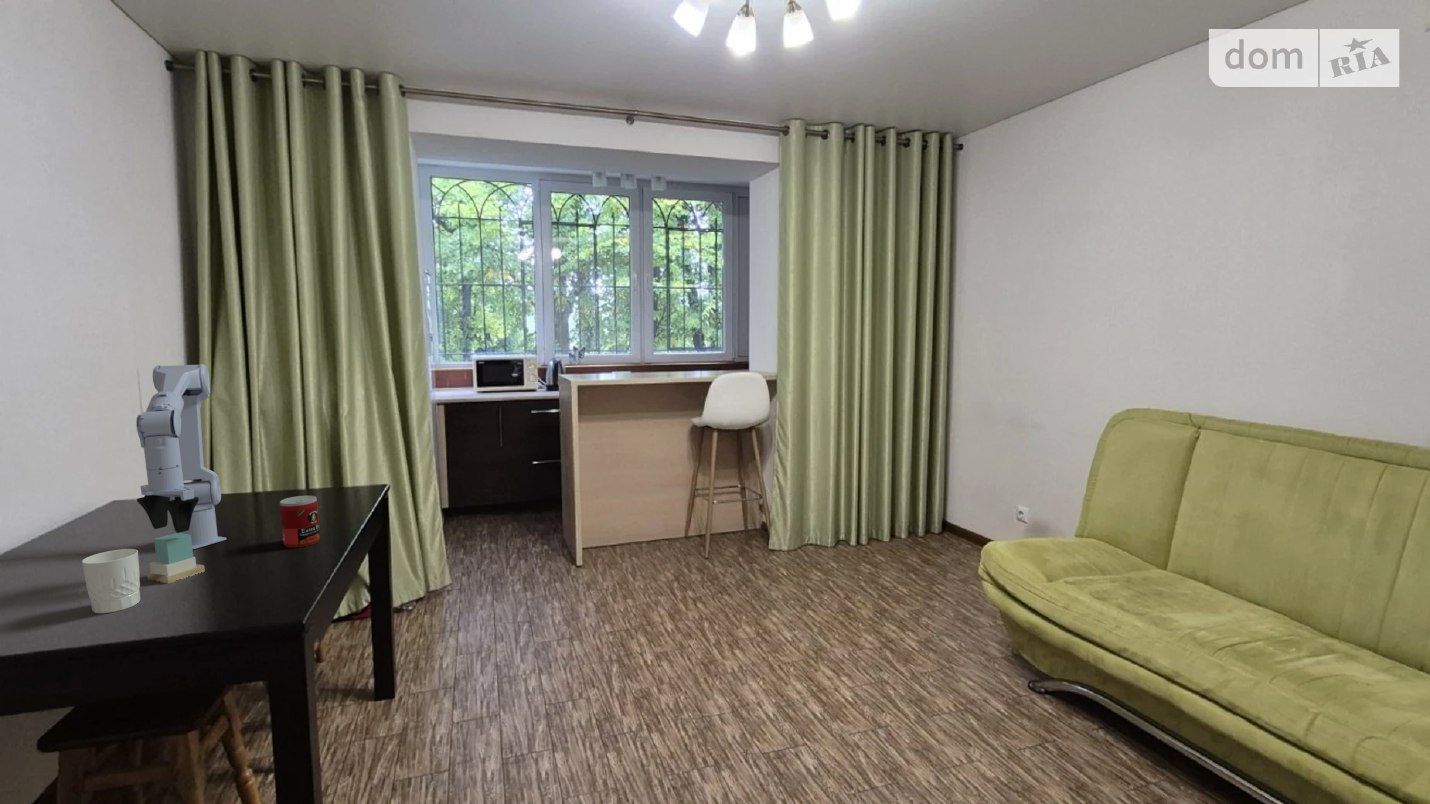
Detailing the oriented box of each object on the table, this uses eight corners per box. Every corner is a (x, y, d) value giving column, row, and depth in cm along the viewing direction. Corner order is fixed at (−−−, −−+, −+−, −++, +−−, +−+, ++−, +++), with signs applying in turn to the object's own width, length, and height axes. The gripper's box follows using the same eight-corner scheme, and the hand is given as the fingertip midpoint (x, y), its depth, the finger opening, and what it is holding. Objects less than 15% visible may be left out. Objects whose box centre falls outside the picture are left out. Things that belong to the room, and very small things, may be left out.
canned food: (303, 549, 156) (299, 504, 154) (275, 547, 157) (270, 503, 156) (328, 538, 163) (324, 496, 162) (301, 537, 165) (297, 494, 163)
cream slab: (150, 573, 138) (149, 563, 138) (179, 564, 143) (178, 554, 143) (167, 576, 136) (166, 565, 136) (196, 566, 141) (195, 557, 141)
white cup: (111, 598, 128) (105, 549, 127) (154, 596, 129) (148, 547, 128) (76, 616, 121) (69, 564, 119) (122, 614, 121) (115, 562, 120)
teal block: (156, 561, 138) (154, 538, 138) (180, 554, 143) (178, 532, 142) (169, 564, 137) (166, 541, 136) (193, 557, 141) (190, 534, 140)
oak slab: (148, 582, 138) (147, 572, 138) (185, 571, 145) (184, 561, 145) (168, 587, 136) (167, 576, 136) (205, 575, 142) (204, 565, 142)
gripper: (120, 468, 136) (128, 531, 138) (163, 473, 131) (171, 539, 133) (159, 461, 143) (166, 521, 145) (201, 466, 138) (208, 528, 139)
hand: (171, 529), depth 139 cm, fingers open, 7 cm apart
